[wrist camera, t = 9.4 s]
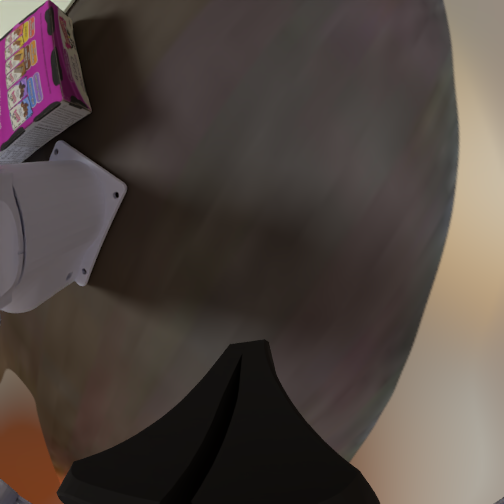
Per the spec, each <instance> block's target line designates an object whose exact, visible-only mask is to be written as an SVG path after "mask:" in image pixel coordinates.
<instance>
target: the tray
mask: <svg viewBox="0 0 504 504" xmlns="http://www.w3.org/2000/svg"><path fill="white" fill-rule="evenodd" d="M46 1H47V0H0V39H1V38H2V37H3V36H4V35H5V34H6V33H7V32H8V31H9V30H11V29H12V28H13V27H14V26H15V25H16V24H17V23H19V22H20V21H21V20H23V19H24V18H25V17H26V16H27V15H29V14H30V13H31V12H33V11H34V10H35V9H37V8H38V7H39V6H41V5H42V4H43V3H45V2H46ZM50 1H52V2H53V3H54V4H55V5H57V6H58V7H59V8H60V9H61V10H62V11H63V12H64V13H66V12H67V11H68V9H69V8H70V7H71V5H72V4H73V3H74V2H75V0H50Z"/></svg>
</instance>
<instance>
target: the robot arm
mask: <svg viewBox="0 0 504 504" xmlns="http://www.w3.org/2000/svg"><path fill="white" fill-rule="evenodd" d="M57 151H58V154H57ZM116 192H118V193H119V197H118V198H117V197H116V195H115V194H116ZM126 192H127V186H126V184H125V183H124V182H123V181H121V180H120V179H118V178H117V177H115V176H114V175H112V174H111V173H109V172H108V171H107V170H105V169H104V168H102V167H101V166H99V165H98V164H96V163H95V162H93V161H92V160H91V159H89V158H88V157H86V156H85V155H83V154H82V153H80V152H79V151H78V150H76V149H75V148H73V147H72V146H70V145H69V144H68V143H66V142H65V141H63V140H59V141H57V142H56V144H55V146H54V149H53V151H52V154H51V156H50V159H49V161H40V162H26V163H15V164H5V165H0V310H3V311H6V312H10V313H23V312H28V311H31V310H33V309H35V308H36V307H38V306H39V305H40V304H42V303H43V302H45V301H46V300H47V299H49V298H50V297H52V296H53V295H54V294H56V293H57V292H59V291H60V290H62V289H63V288H65V287H66V286H68V285H69V284H71V283H72V282H73V281H75V282H77V283H78V284H79V285H80V286H85V285H86V284H87V282H88V280H89V277H90V274H91V272H92V269H93V266H94V264H95V261H96V259H97V256H98V254H99V251H100V249H101V246H102V244H103V242H104V239H105V237H106V235H107V232H108V230H109V228H110V226H111V223H112V221H113V219H114V217H115V215H116V212H117V210H118V208H119V206H120V204H121V202H122V200H123V198H124V196H125V194H126ZM84 269H85V270H86V272H87V273H86V272H85V271H84ZM0 322H1V317H0ZM57 495H58V497H59V499H60V500H61V501H62V502H63V503H64V504H380V502H379V500H378V498H377V496H376V494H375V492H374V491H373V489H372V488H371V486H370V485H369V483H368V482H367V481H366V479H365V478H364V477H363V475H362V474H361V472H360V471H359V470H358V469H357V468H355V467H354V466H353V465H351V464H350V463H349V462H347V461H346V460H345V459H344V458H342V457H341V456H340V455H339V454H338V453H337V452H335V451H334V450H333V449H332V448H331V447H330V446H329V445H328V444H327V443H326V442H325V441H324V440H323V439H322V438H321V437H320V436H319V435H318V434H317V433H316V432H315V431H314V430H313V428H312V427H311V426H310V425H309V424H308V423H307V422H306V421H305V419H304V418H303V417H302V415H301V414H300V413H299V412H298V410H297V409H296V407H295V406H294V404H293V403H292V402H291V400H290V399H289V397H288V395H287V394H286V392H285V390H284V388H283V387H282V385H281V383H280V381H279V379H278V377H277V375H276V371H275V367H274V363H273V359H272V355H271V350H270V346H269V342H268V341H266V340H265V339H264V340H258V341H251V342H244V343H236V344H230V345H229V346H228V348H227V349H226V350H225V351H224V353H223V354H222V355H221V356H220V358H219V359H218V360H217V362H216V363H215V364H214V365H213V367H212V368H211V369H210V370H209V371H208V373H207V374H206V375H205V376H204V377H203V379H202V380H201V381H200V382H199V383H198V384H197V385H196V386H195V387H194V388H193V389H192V390H191V391H190V393H189V394H188V395H187V396H186V397H185V398H184V399H183V400H182V401H181V402H179V403H178V404H177V405H176V406H175V407H174V408H173V409H171V410H170V411H169V412H168V413H167V414H165V415H164V416H163V417H162V418H160V419H159V420H158V421H156V422H155V423H153V424H152V425H150V426H149V427H147V428H146V429H144V430H143V431H141V432H140V433H138V434H137V435H135V436H133V437H131V438H130V439H128V440H126V441H124V442H122V443H120V444H118V445H116V446H114V447H112V448H110V449H108V450H105V451H103V452H100V453H98V454H95V455H92V456H89V457H87V458H84V459H81V460H78V461H74V462H73V464H72V466H71V468H70V470H69V471H68V473H67V475H66V477H65V478H64V480H63V482H62V484H61V486H60V487H59V489H58V491H57ZM0 504H32V503H30V502H28V501H27V500H25V499H24V498H22V497H20V496H19V495H18V494H17V492H15V491H14V490H13V489H12V488H11V487H10V486H9V485H7V484H6V483H5V482H4V481H3V480H1V479H0ZM494 504H504V497H503V498H502V499H500V500H499V501H497V502H496V503H494Z"/></svg>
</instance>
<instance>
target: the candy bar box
mask: <svg viewBox="0 0 504 504" xmlns="http://www.w3.org/2000/svg"><path fill="white" fill-rule="evenodd" d="M91 112H92V109H91V106H90V102H89V98H88V95H87V91H86V87H85V83H84V79H83V75H82V71H81V66H80V61H79V57H78V52H77V46H76V42H75V37H74V31H73V25H72V20H71V19H70V18H69V17H68V15H66V14H65V13H64V12H63V11H62V10H61V9H60V8H59V7H58V6H57V5H55V4H54V3H53V2H52V1H50V0H47V1H46V2H45V3H43V4H42V5H41V6H39V7H38V8H37V9H35V10H34V11H33V12H31V13H30V14H29V15H27V16H26V17H25V18H24V19H23V20H21V21H20V22H19V23H17V24H16V25H15V26H14V27H13V28H12V29H11V30H9V31H8V32H7V33H6V34H5V35H4V36H3V37H2V38H1V39H0V165H5V164H15V163H22V162H23V161H24V160H26V159H27V158H28V157H29V156H31V155H32V154H33V153H34V152H35V151H37V150H38V149H39V148H41V147H42V146H43V145H45V144H46V143H47V142H49V141H50V140H51V139H53V138H54V137H56V136H57V135H58V134H60V133H61V132H63V131H64V130H66V129H67V128H68V127H70V126H72V125H73V124H75V123H76V122H78V121H79V120H81V119H82V118H84V117H85V116H87V115H89V114H90V113H91Z"/></svg>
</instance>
